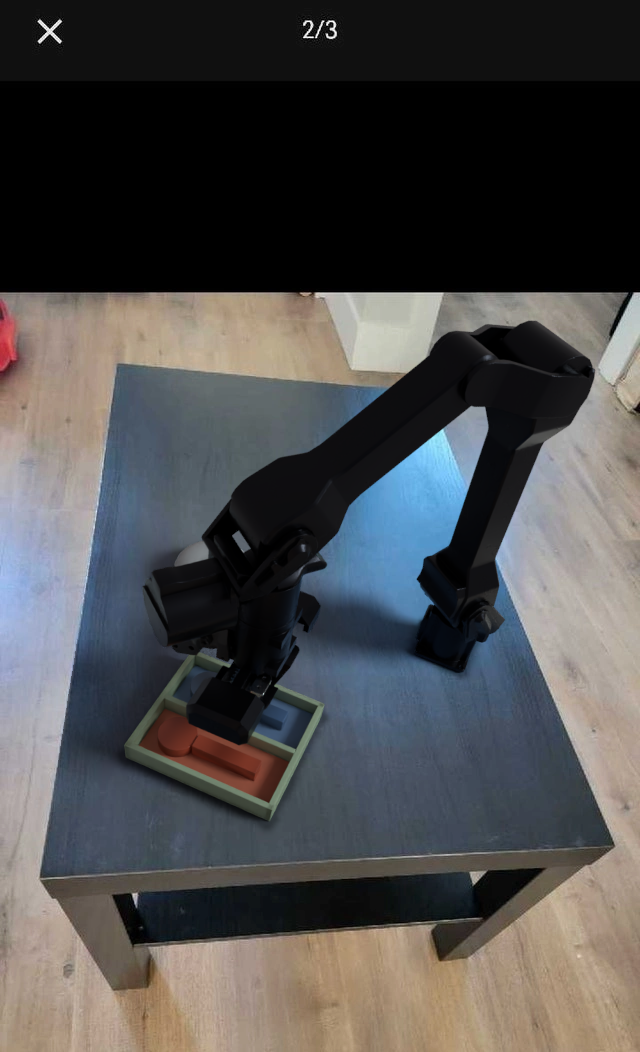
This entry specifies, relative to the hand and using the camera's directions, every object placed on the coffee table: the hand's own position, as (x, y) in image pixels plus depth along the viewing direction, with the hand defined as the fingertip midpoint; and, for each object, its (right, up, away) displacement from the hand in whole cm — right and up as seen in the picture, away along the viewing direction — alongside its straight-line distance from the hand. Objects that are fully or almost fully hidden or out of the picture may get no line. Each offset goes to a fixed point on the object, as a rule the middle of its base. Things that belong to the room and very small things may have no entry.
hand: (251, 706), depth 73 cm
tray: (-3, -3, -1) cm, 4 cm away
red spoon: (-4, -5, -3) cm, 7 cm away
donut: (-6, +15, +14) cm, 21 cm away
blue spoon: (-1, 0, +1) cm, 1 cm away
